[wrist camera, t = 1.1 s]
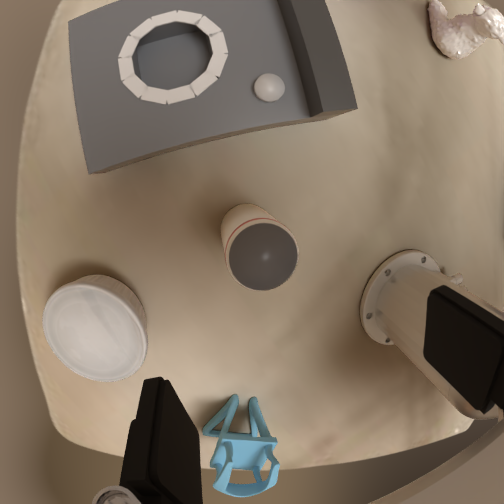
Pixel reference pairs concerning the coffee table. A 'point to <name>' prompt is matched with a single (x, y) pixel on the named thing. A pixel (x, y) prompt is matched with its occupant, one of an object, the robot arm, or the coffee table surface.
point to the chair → (242, 450)
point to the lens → (257, 248)
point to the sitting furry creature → (464, 29)
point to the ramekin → (97, 328)
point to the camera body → (200, 73)
